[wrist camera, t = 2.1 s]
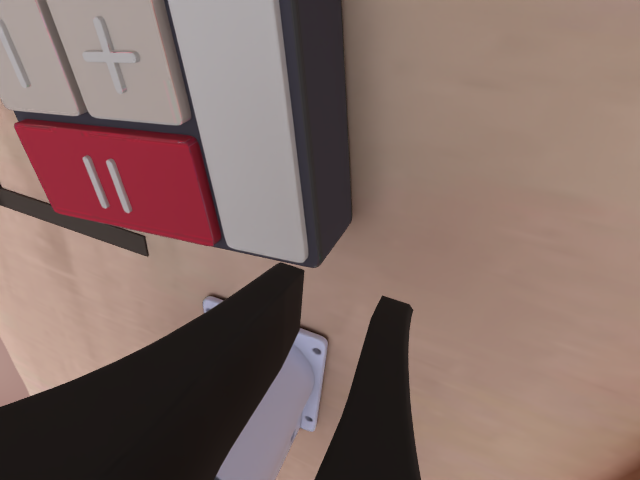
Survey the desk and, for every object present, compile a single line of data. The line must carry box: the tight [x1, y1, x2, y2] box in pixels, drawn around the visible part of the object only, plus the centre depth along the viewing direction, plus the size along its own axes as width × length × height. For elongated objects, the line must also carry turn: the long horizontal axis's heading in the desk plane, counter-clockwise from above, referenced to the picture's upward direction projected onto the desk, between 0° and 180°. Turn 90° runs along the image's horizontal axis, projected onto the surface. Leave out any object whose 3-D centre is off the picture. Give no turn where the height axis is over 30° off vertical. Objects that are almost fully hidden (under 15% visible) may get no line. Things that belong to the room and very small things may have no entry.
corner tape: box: [0, 186, 148, 256], centre depth 23 cm, size 20×13×1 cm, turn 175°
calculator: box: [0, 0, 352, 268], centre depth 19 cm, size 11×4×15 cm
